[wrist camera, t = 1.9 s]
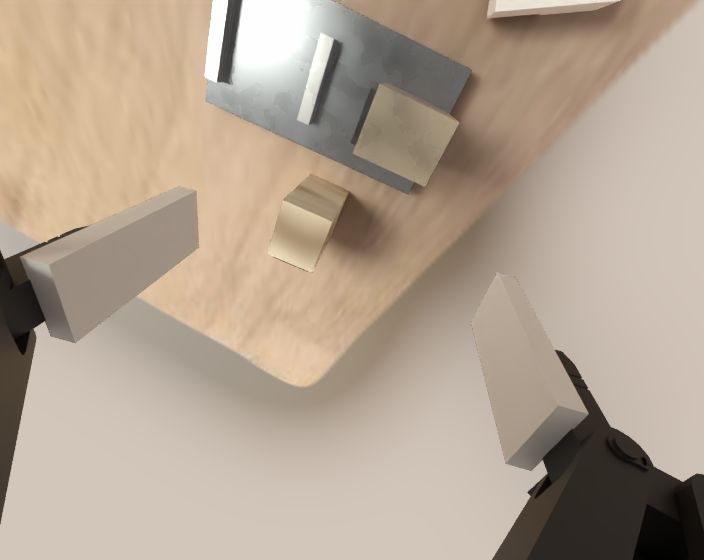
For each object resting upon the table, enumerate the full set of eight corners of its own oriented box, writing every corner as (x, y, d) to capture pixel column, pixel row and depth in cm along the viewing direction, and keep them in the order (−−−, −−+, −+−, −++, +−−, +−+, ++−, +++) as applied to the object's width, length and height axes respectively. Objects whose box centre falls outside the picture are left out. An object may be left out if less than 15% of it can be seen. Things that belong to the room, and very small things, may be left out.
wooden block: (330, 237, 34) (310, 276, 27) (295, 222, 34) (266, 257, 27) (349, 191, 31) (332, 221, 24) (310, 173, 31) (282, 199, 24)
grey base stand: (214, 100, 29) (138, 108, 21) (234, -47, 23) (143, -112, 15) (408, 189, 30) (407, 228, 22) (469, 70, 25) (496, 66, 17)
